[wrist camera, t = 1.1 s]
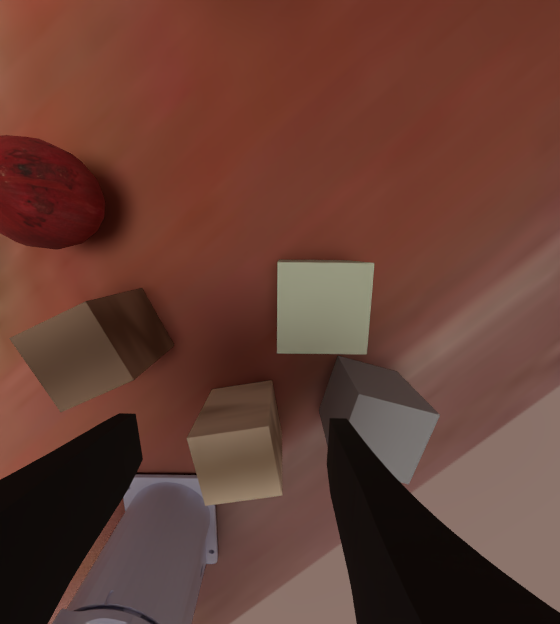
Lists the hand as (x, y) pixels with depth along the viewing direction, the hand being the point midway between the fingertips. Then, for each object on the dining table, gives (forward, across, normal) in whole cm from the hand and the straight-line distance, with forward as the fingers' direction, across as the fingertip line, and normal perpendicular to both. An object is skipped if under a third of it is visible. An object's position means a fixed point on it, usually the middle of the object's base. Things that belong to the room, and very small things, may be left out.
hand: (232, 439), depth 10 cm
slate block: (+11, -8, +5) cm, 15 cm away
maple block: (+11, +1, +7) cm, 13 cm away
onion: (+12, +12, -9) cm, 19 cm away
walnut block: (+11, +10, 0) cm, 15 cm away
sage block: (+12, -4, -3) cm, 13 cm away
